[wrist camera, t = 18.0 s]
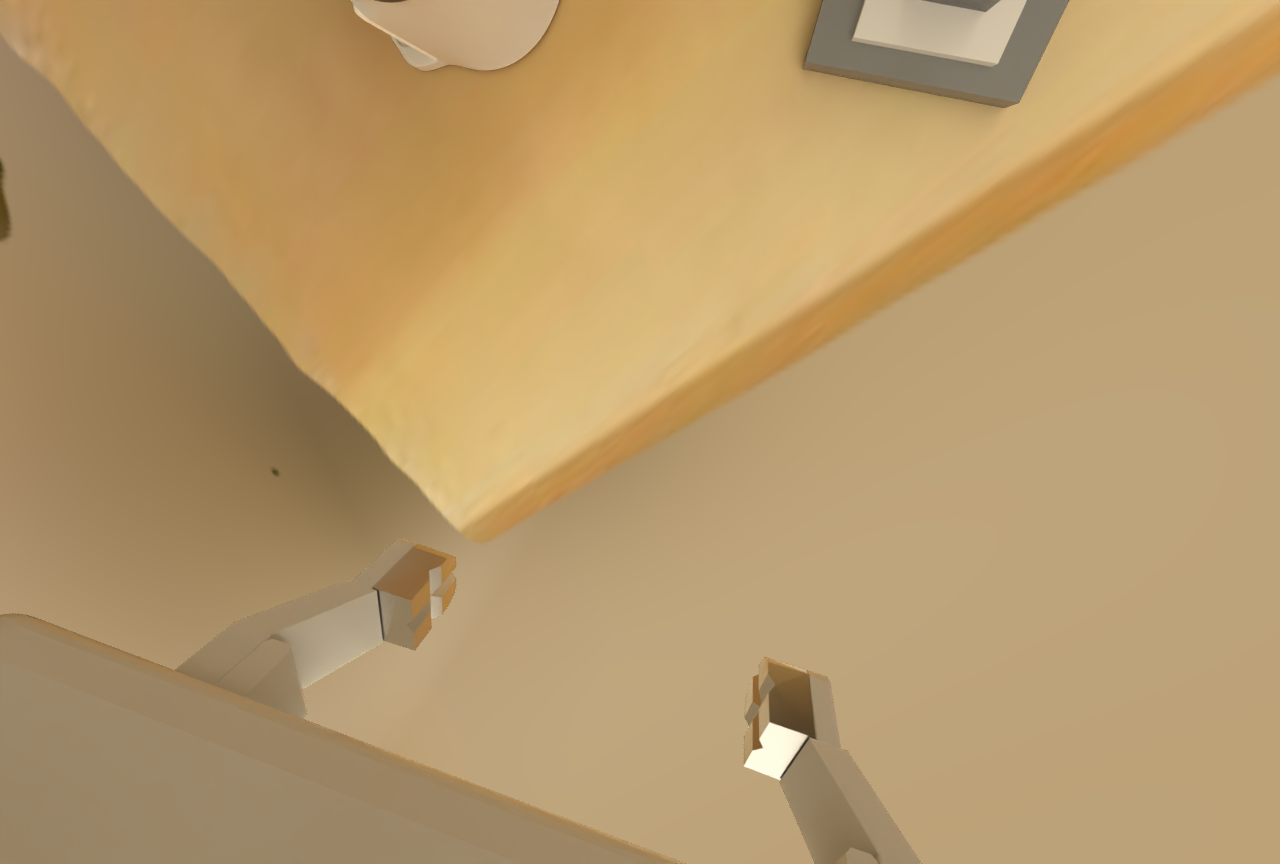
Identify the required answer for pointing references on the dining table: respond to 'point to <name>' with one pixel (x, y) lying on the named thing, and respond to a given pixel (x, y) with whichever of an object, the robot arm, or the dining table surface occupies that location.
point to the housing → (968, 4)
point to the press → (936, 45)
